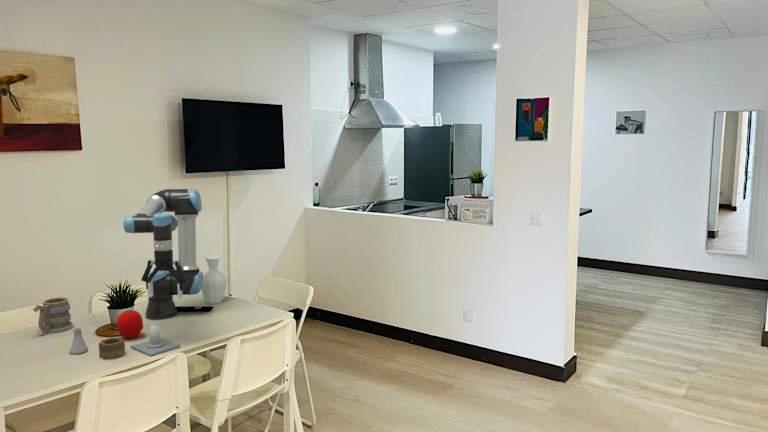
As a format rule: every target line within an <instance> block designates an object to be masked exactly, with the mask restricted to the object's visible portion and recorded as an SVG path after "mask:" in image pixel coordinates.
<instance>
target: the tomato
mask: <svg viewBox="0 0 768 432" xmlns="http://www.w3.org/2000/svg"><path fill="white" fill-rule="evenodd" d="M143 323H144V322H143V317H142V315H141V314H140V312H138V311H137V310H135V309H134V310H130V309H128V310H126V311H125V310H124V311H122V312H121V313H120V314H119V315H118V317H117V320H116V325H115V326H116V329H117V332H118V333H119V334H120V336H121V337H123V339H134V338H136V337H138V336H139V335H140V334H141V331H142V329H143V325H144V324H143Z"/></svg>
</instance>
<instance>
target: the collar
mask: <svg viewBox="0 0 768 432" xmlns="http://www.w3.org/2000/svg"><path fill="white" fill-rule="evenodd" d="M125 343H126V342H125V338H122V337H109V338H106V339H102V340H101V341H100V342H98V352H99V353H98V355H99V358H100V359H102V358H103V359H102V360H114V359H117V358H122V357H123V356H124V355H125V354H126V348H125V347H126V346H125V345H126V344H125Z"/></svg>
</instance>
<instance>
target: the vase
mask: <svg viewBox="0 0 768 432" xmlns="http://www.w3.org/2000/svg"><path fill="white" fill-rule="evenodd" d="M220 258H221V257H220V256H215V255H214V256H213V255H211V256H207V257H205V261H206V263H207V267H208V270H207V271H206V272H204V273H203V282H202V287H201V290H200V291H201V293H202V296H203V300H204V302H205V303H206V304H208V305H216V304H219V303H222V301H223V298H224V296H225V293H226V289H227V283H228V282H227V281H228V278H227V274H225V273H223V272H221V271H220V270H219V269H218V266H219V263H220Z"/></svg>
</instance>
